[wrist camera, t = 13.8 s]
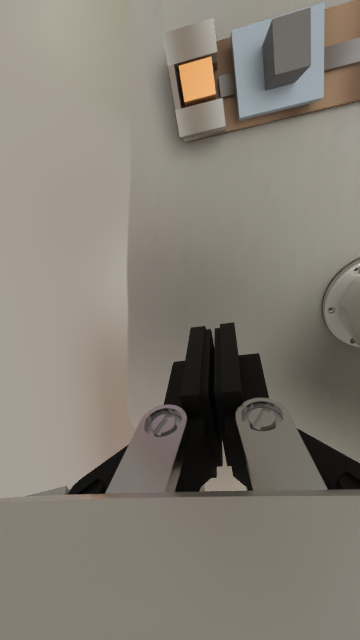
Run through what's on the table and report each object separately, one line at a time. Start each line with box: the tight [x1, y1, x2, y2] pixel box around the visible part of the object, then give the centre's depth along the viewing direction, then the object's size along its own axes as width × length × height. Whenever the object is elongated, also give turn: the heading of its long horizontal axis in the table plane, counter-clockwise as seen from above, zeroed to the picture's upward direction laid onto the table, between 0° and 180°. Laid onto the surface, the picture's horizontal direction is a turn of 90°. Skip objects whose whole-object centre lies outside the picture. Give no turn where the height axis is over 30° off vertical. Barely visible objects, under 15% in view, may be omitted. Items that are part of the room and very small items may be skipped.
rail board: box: [162, 0, 360, 142], centre depth 26 cm, size 23×7×6 cm, turn 101°
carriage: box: [230, 2, 325, 121], centre depth 23 cm, size 7×6×7 cm
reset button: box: [179, 57, 216, 107], centre depth 26 cm, size 3×2×4 cm
